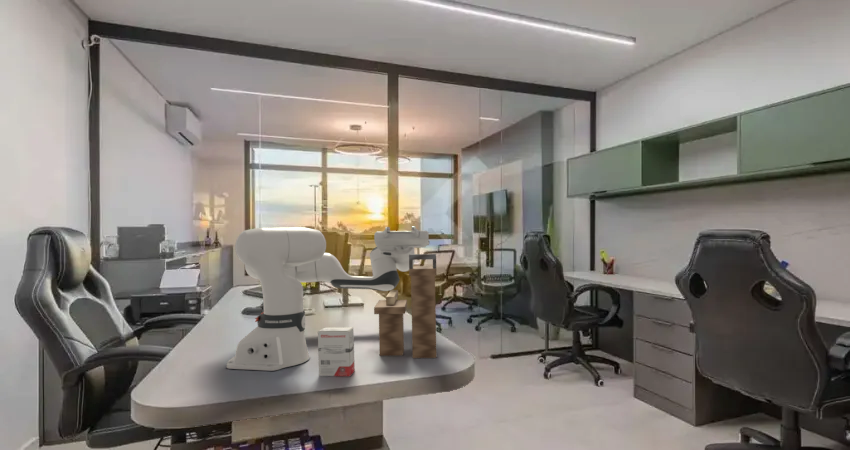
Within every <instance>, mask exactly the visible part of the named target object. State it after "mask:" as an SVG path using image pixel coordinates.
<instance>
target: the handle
mask: <svg viewBox="0 0 850 450" xmlns="http://www.w3.org/2000/svg"><path fill="white" fill-rule="evenodd" d="M398 298H399V290H398V289H393V290H390V291H388V293H387V295H386V296H385V300H386V305H394V304H395V302H396V300H398Z"/></svg>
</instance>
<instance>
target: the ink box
mask: <svg viewBox="0 0 850 450" xmlns="http://www.w3.org/2000/svg"><path fill="white" fill-rule="evenodd" d="M354 334H355V333H354V326H353V327H349V326H348V327H323V328H321V329H320V330H318V331H317V351H318V352H317V355H318V357H317V358H318V376H319V377H351V376H352V375H353V373H354V372H355V371H356V369H355V342H354V341H355V338H354V336H355V335H354Z"/></svg>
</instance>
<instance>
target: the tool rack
mask: <svg viewBox="0 0 850 450" xmlns="http://www.w3.org/2000/svg"><path fill="white" fill-rule="evenodd" d="M413 260H415V261H417V260H418V261H420V260H422V261H424V260H432V265H430V266H429V265H418V266H414V265H413ZM437 273H438V272H437V254H436V253H415V254H409V270H408V276H409V277H410V287H411V288H410V289H411V291H410V293H411V300H410V301H411V336H412V337H411V343H412V345H411V348H412V353H411V354H412V359H435V358H437V325H436V324H437V317H436V315H437V313H436V309H437V308H436V276H437V275H438V274H437ZM407 308H408V300H407V299H397V300H396V302H395V304H394V305H386V299H379V300H378V301H377V302H376V304H375V305H374V308H373V314H374V315H378V333H379V334H378V337H379V338H378V339H379V341H378V345H379V350H378V351H379V356H380V357H384V356H390V357H391V356H404V353H405V339H404V338H405V336H404V335H405V333H404V332H405V329H404V328H405V326H404V325H405V324H404V315H405V314H406V310H407Z"/></svg>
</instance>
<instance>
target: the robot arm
mask: <svg viewBox="0 0 850 450" xmlns="http://www.w3.org/2000/svg"><path fill="white" fill-rule="evenodd" d="M429 236H430V235H429V231H427V230H419V229H418V228H417V227H416V226H411V230H397V231H396V230H391V227H390V226H385V229H384V230H383V231H378V230H377V231H376V232H374V241H373V242H374V243H375V247H374V248H373V249H371V251H370V253H369V257H370V258H369V260H370V265H371V271H372V276H365V275H364V276H362V275H361V276H358V275H351V274H349V273H347V271H345V270H344V268H343V266H342V264H341V262H340V261H339V260H338V258H337V257H336V256H335V255H334V254H331V253H330V252H326V250H327V240H326V238H325V235H324V234H323V233H322V231H320V230H319V229H315V228H310V227H304V226H303V227H302V226H299V227H294V226H293V227H292V226H291V227H289V226H288V227H287V226H285V227H284V226H283V227H276V226H275V227H274V226H273V227H255V228H251V229H245V230H243V231H241V233H240V234H239V235H238V236H237V238H236V241H235V245H234V250H235V254H236V256H237V258H238V260H239V261H240V262H241V263H242V264H243V265H244V269H245V271H246V274H247V275H248V276H249V277H251V278H252V279H255V280H259V282H260V286H261V290H262V299H263V303H262V304H263V312H261V313H260V314H259V315H257V316H256V317H255V318H254V319H255V321H254V323H257V326H256V327H255V328H253V330H251V331H250V332H249V333H248V334H246V335H245V336H244V337H243V338H242V339H240V341H238V344H237V346H236V350H235V356H233V357H232V358H230V359H229V360H227V361H226V368H227V369H229V370H230V369H233V370H253V371H272V372H273V371H279V370H281V369H284V368H288V367H293V366H297V365H301V364H303V363H305V362H307V361H309V360H310V358H311V357H310V354H309V350H308V345H307V341H306V333H305V331H306V325H307V324H306V321H307V320H306V312H305V309H304V287H303V285H302V283H317V282H325V283H329V284H330V285H331V286H332V287H334V288H338V289H349V290H350V289H351V290H373V291H379V292H390V291H391V290H395V289H396V287H397V286H398V284H399V282H400V276H399V273H398V271H400V272H404V273H405V272H409V254H416V253H415V248H420V249H421V248H426V247H427V246H430V240H429V239H430V238H429ZM415 261H416V260H413V266H414V265H415Z"/></svg>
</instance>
